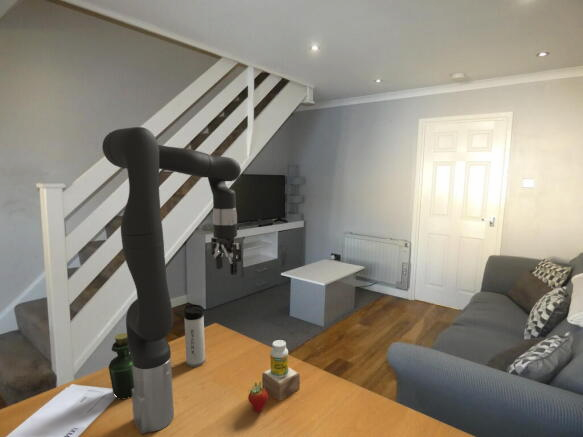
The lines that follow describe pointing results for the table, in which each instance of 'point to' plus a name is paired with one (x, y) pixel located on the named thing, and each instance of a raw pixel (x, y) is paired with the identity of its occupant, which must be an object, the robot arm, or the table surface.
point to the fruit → (258, 397)
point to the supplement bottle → (279, 359)
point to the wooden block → (281, 384)
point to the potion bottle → (121, 368)
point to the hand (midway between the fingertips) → (226, 271)
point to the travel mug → (194, 335)
